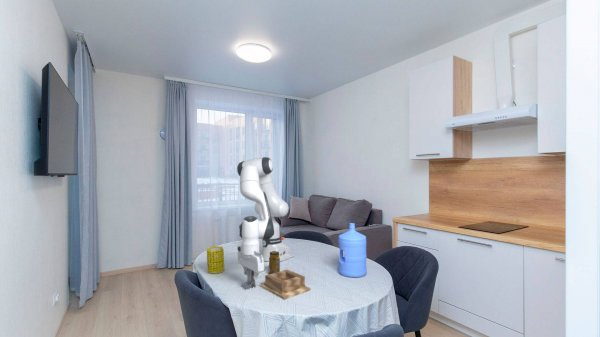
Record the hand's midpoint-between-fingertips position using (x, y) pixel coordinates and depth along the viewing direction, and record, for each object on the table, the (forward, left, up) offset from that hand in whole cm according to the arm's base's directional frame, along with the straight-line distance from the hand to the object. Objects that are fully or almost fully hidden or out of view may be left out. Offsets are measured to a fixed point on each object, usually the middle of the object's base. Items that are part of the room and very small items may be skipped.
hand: (250, 276), depth 146 cm
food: (+4, -32, -5) cm, 33 cm away
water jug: (-54, +21, -5) cm, 58 cm away
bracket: (+1, 0, -5) cm, 5 cm away
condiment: (-20, -7, -5) cm, 21 cm away
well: (-12, +13, -5) cm, 18 cm away
